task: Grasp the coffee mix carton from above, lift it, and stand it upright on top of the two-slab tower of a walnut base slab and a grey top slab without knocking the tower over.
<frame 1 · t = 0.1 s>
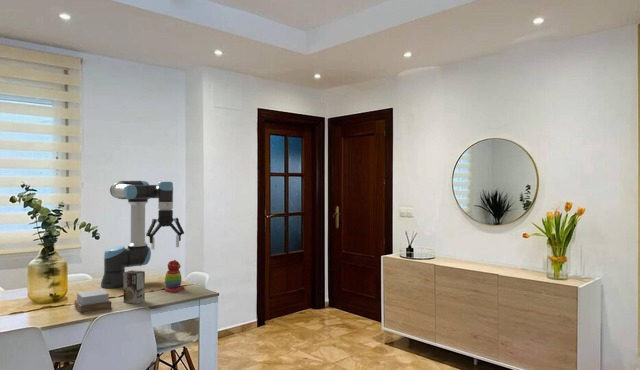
hand: (165, 248, 245), 28 cm above the table, tool pointing down, fingers open, 13 cm apart
stacking bear: (173, 290, 264), on the table
base slab: (92, 308, 227), on the table
top slab: (92, 300, 227), point 3 cm above the table
coffee box: (134, 302, 239), on the table
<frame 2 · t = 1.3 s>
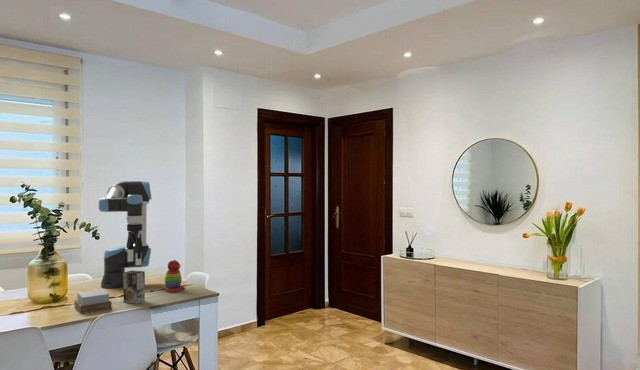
hand: (134, 263, 239), 21 cm above the table, tool pointing down, fingers open, 13 cm apart
base slab: (92, 308, 227), on the table, touching top slab
top slab: (93, 301, 227), point 3 cm above the table, touching base slab
everything else where it was.
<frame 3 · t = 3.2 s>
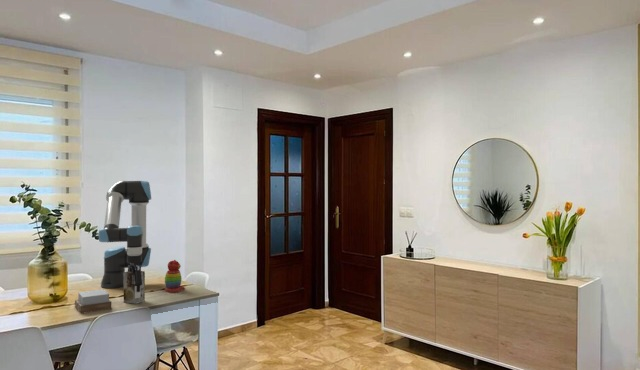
hand: (134, 295, 239), 3 cm above the table, tool pointing down, fingers closed on coffee box, 11 cm apart
coffee box: (134, 302, 239), on the table, touching gripper
everything else where it was.
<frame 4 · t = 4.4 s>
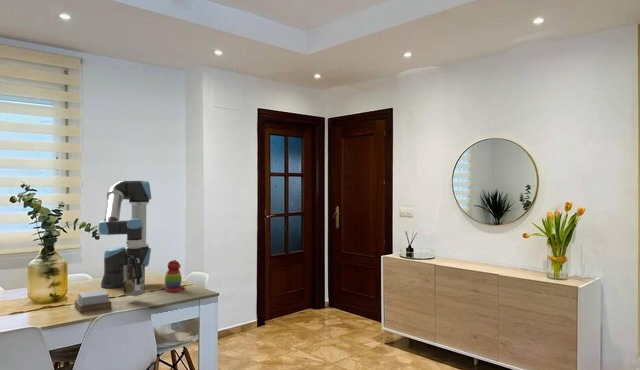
hand: (134, 288, 239), 7 cm above the table, tool pointing down, fingers closed on coffee box, 11 cm apart
coffee box: (134, 294, 240), point 4 cm above the table, touching gripper
everything else where it was.
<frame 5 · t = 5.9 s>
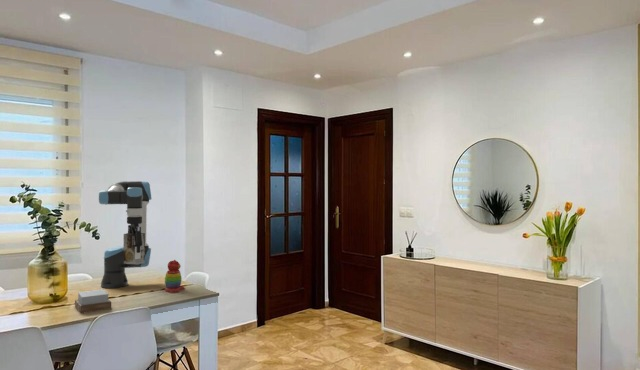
hand: (134, 257, 239), 24 cm above the table, tool pointing down, fingers closed on coffee box, 11 cm apart
base slab: (92, 308, 227), on the table
top slab: (93, 300, 227), point 3 cm above the table
coffee box: (134, 263, 239), point 20 cm above the table, touching gripper
everything else where it was.
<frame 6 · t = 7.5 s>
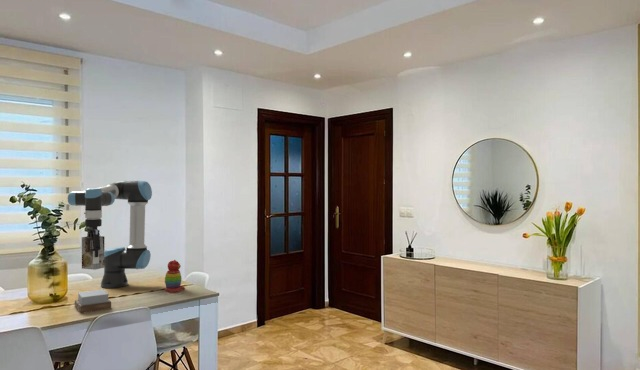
hand: (93, 261, 227), 23 cm above the table, tool pointing down, fingers closed on coffee box, 11 cm apart
coffee box: (93, 268, 227), point 20 cm above the table, touching gripper
everything else where it was.
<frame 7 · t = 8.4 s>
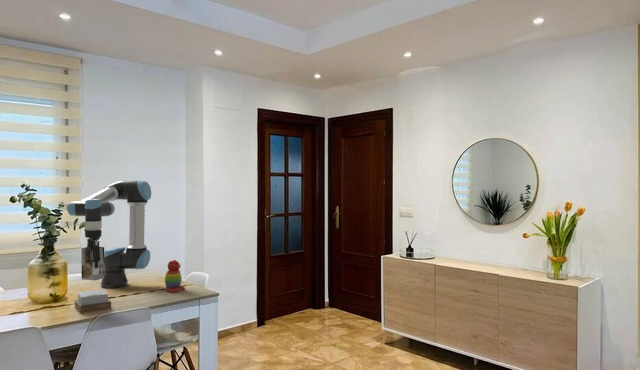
hand: (92, 272, 227), 18 cm above the table, tool pointing down, fingers closed on coffee box, 11 cm apart
coffee box: (92, 279, 227), point 14 cm above the table, touching gripper
everything else where it was.
when the fingers open (12 cm above the table, at t = 10.0 s): coffee box drops 2 cm, resting on top slab.
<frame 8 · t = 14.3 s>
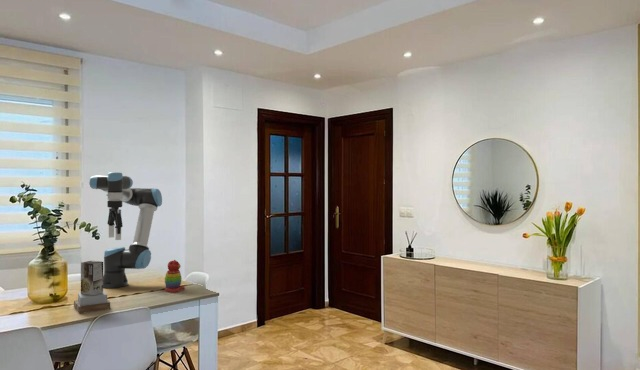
hand: (114, 238, 247), 33 cm above the table, tool pointing down, fingers open, 13 cm apart
base slab: (91, 309, 227), on the table, touching top slab
top slab: (92, 301, 227), point 3 cm above the table, touching base slab, coffee box
coffee box: (91, 293, 227), point 7 cm above the table, touching top slab
everything else where it was.
at the end: coffee box inside the target area on the top slab (0.4 cm from its centre), point 3.8 cm above the top slab's base; coffee box tilted 0°; top slab moved 0.8 cm from its start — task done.
